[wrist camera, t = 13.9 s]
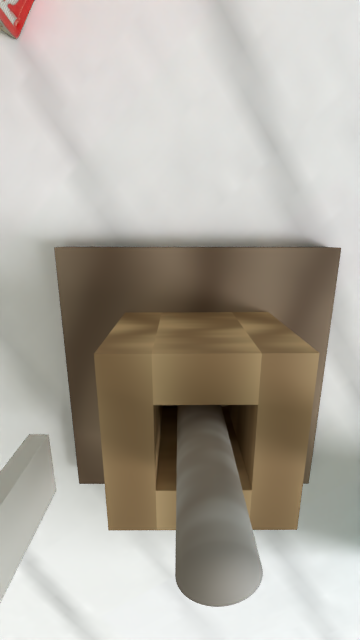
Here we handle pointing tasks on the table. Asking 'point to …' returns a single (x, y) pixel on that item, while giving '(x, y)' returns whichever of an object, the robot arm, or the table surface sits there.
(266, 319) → the bead
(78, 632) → the table surface
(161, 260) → the board
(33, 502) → the robot arm
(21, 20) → the stack of blocks
